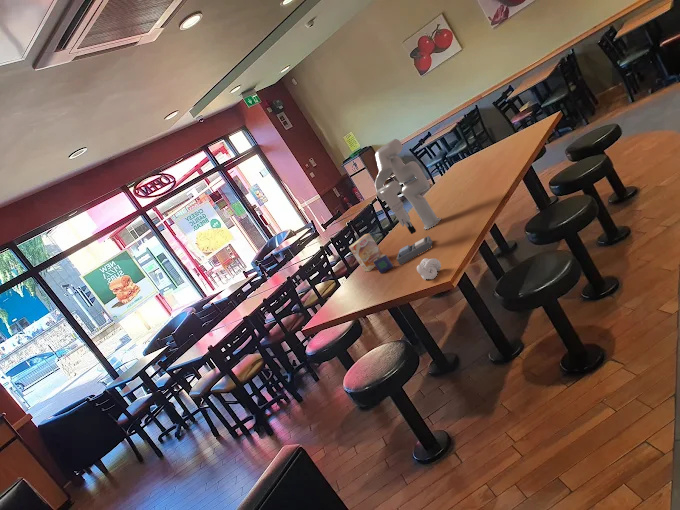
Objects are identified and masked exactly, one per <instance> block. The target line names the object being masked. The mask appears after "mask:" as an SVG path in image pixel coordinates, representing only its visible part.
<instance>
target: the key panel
mask: <svg viewBox="0 0 680 510" xmlns="http://www.w3.org/2000/svg"><path fill="white" fill-rule="evenodd" d="M423 238H424V239H425V240H426V242H427V243H425V244H423V245H422V246H420V247H418V248H415V243H413V244H412V245H409V246H410V248H411V252H409V253H407V254H405V255H403V256H402V257H401V255H400V254H399V251H398V253H397V257H396V261H397V264H399V265H400V266H402V265H404V264H405V263H407V262H409V261H411V260H412V258H413V257H415V256H417V255H418V254H420V253H422V252H424V251H426V250H427V249H429V248H431V246H432V247H433V240H432V239H431V237H430V235H427V236H426V237H423ZM431 249H432V248H431ZM429 250H430V249H429ZM426 252H427V251H426ZM424 253H425V252H424ZM422 254H423V253H422ZM420 255H421V254H420ZM418 256H419V255H418ZM418 256H417V257H418ZM415 258H416V257H415ZM410 259H411V260H410ZM413 259H414V258H413ZM408 260H409V261H408ZM406 261H407V262H406ZM403 263H404V264H403ZM401 264H402V265H401Z"/></svg>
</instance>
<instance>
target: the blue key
mask: <svg viewBox="0 0 680 510" xmlns="http://www.w3.org/2000/svg"><path fill="white" fill-rule="evenodd" d="M410 246H411V245H409V244H408V245H406V246H403V247H402V248H400V249H399V251H398V252H399V254H400V255H401V257H402V256H403V255H405V254H407V253H409V252H411V248H410Z"/></svg>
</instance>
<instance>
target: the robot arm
mask: <svg viewBox="0 0 680 510" xmlns="http://www.w3.org/2000/svg"><path fill="white" fill-rule="evenodd" d="M402 144H403V143H402V141H400V139H397V138H394V139H393V140H391V141H389V142H387V143H386V144H384V145H382V146H380V148H378V149H377V150H376V151H375V154H374V158H375V161H376V165H377V170H378V173H377V176H376V178H375V181H374V188H375V192H376V196H377V197H378V199H379V200H381V201H385V203H386V205H387V206H388V208H389V209H390V211H391V212H392V213H394V215H395V217H396V219H397V220H398V222H399V224H400V225H401V227H406V228H407V230H408V231H409V233H410V234H411V235H413V234H414V233H417V229H416V228H415V227H414V224H412V221H411V217H410V215H409V214H408V212H407V210H406V209H405V208H404V206H405V205H404V203H403V201H402V200H401V198H400V197H399V195H398V194H399V193H401V192H402V195H403V196H404V198H406V200H407V201H408V202H409V203H410V205H411V206H412V207H413V209H414V212H416V214H417V215H418V217H419V219H420V220H421V222H422V223H423V225H424V226H423V230H424V231H427V230H429V228H430V229H432V228H434V227H435V226H437V225H438V224H439V223H440V222H441V221H442V218H441V217H438V216H437V215H436V213H435V211H434V210H433V208H432V207H431V205H430V203H429V202H428V199H426V198H425V197H424V196H422V195H421V194H422V193H424V192H425V191H428V189H429V187H430V183H429V181H428V180H429V179H428V178H427V177H426V176H425V173H424V172H423V170H422V168H421V167H420V165H419V164H418V163H417V162H416V161H414V160H413V161H409V162H407V163H406V164H405V163H404V161H403V160H402V158H401V157H399V156H398V155H400V153H401V152H402V151H403V145H402ZM392 173H393V175H394V176H395V178H396V180H392V181H390V182H388V183H387V184H385V182H386V181H387V180H388V179H389V177H390V176H391V174H392ZM413 178H414V179H413ZM412 179H413V180H412ZM410 180H411V181H410ZM408 181H409V182H408ZM406 182H407V183H406ZM403 183H406V184H405V185H404V186H401V184H403ZM400 191H401V192H400ZM440 220H441V221H440ZM439 221H440V222H439ZM438 222H439V223H438ZM437 223H438V224H437ZM436 224H437V225H436ZM434 225H435V226H434ZM433 226H434V227H433ZM431 227H432V228H431ZM426 229H427V230H426Z"/></svg>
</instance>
